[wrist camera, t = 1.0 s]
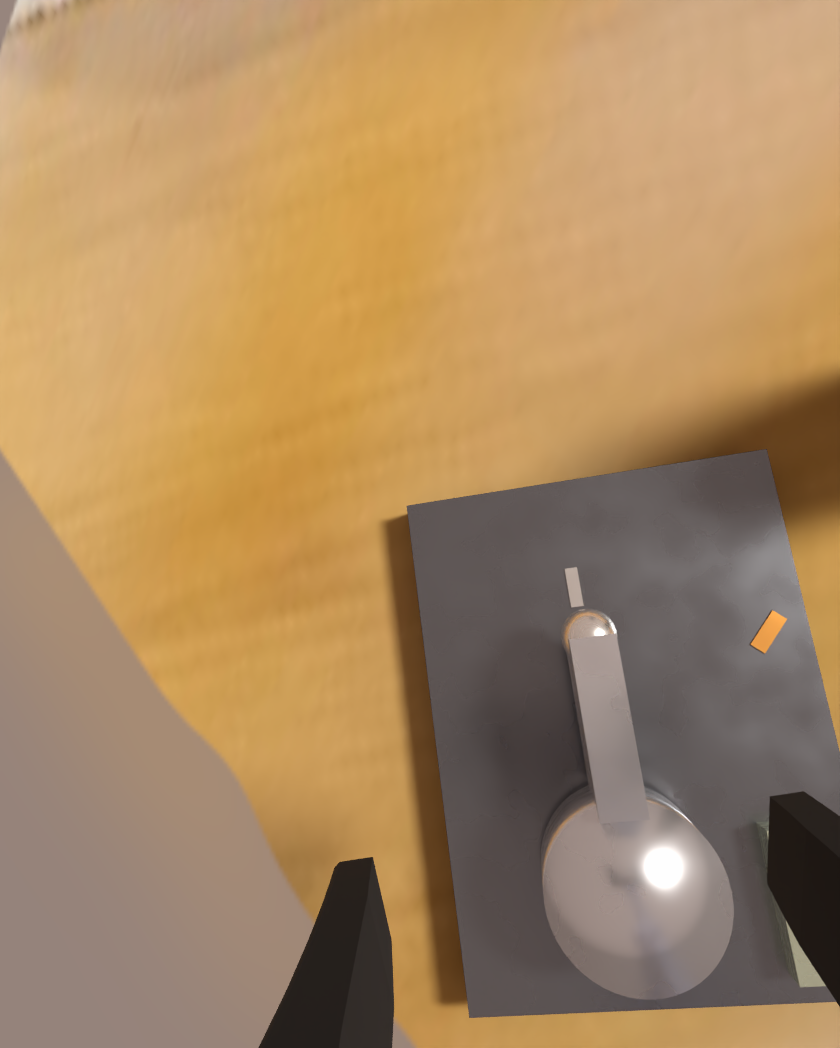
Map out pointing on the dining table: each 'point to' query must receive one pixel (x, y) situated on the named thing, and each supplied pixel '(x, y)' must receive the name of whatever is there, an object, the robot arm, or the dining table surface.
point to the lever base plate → (654, 699)
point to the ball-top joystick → (627, 849)
